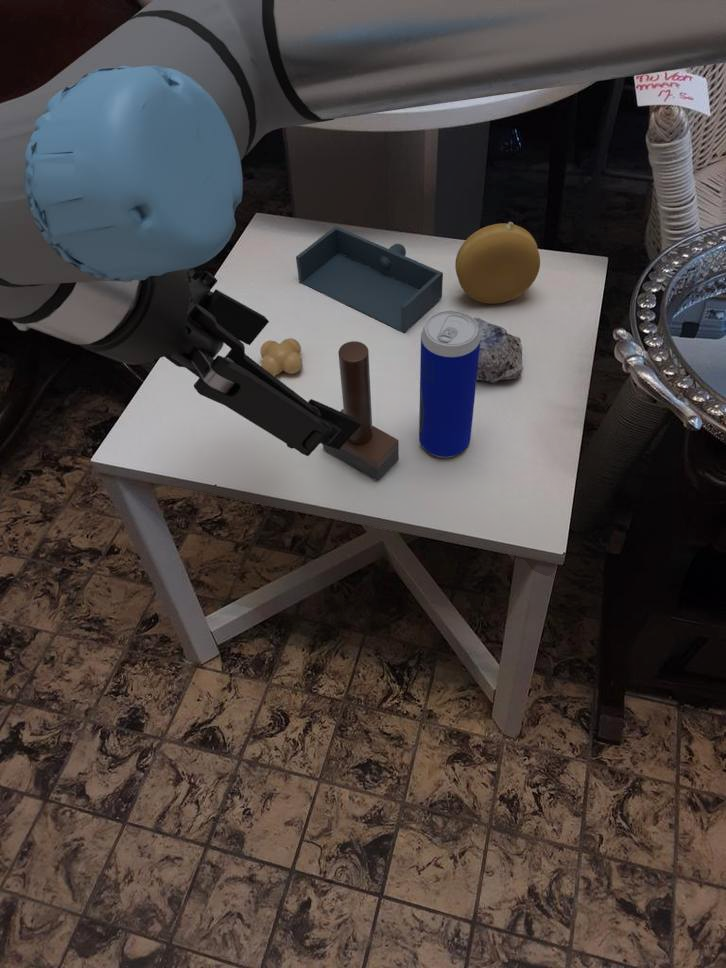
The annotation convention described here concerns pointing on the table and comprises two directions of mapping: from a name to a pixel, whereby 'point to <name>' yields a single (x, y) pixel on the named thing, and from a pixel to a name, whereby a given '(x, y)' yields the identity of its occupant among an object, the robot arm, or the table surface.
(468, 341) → the beverage can
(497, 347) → the mineral specimen
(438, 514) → the table surface
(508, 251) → the tan flat oval
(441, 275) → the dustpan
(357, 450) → the brush
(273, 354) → the tan lobed cluster
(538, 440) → the table surface
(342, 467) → the table surface
